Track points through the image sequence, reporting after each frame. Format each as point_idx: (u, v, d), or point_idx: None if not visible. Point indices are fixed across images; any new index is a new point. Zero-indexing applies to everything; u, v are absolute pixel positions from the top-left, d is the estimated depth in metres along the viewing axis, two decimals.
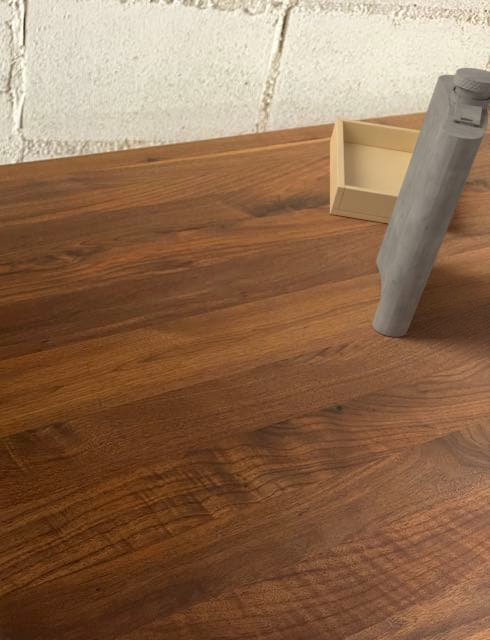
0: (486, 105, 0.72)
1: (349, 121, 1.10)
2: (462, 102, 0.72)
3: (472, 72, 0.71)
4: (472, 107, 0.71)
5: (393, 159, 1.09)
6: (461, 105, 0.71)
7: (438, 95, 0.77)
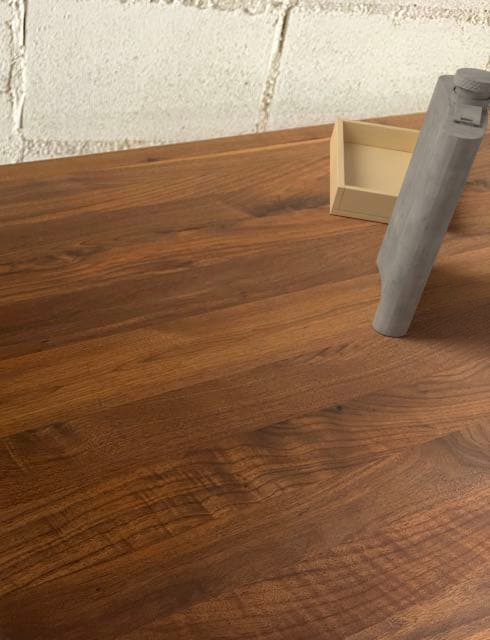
0: (486, 105, 0.72)
1: (349, 121, 1.10)
2: (462, 102, 0.72)
3: (472, 72, 0.71)
4: (472, 107, 0.71)
5: (393, 159, 1.09)
6: (461, 105, 0.71)
7: (438, 95, 0.77)
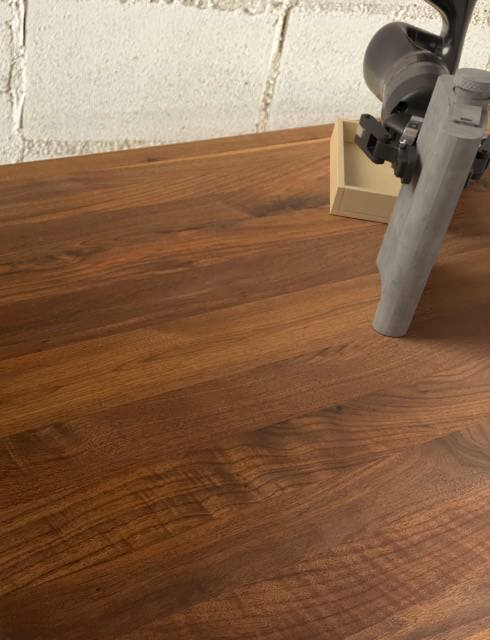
0: (486, 105, 0.72)
1: (349, 121, 1.10)
2: (462, 102, 0.72)
3: (472, 72, 0.71)
4: (472, 107, 0.71)
5: None
6: (461, 105, 0.71)
7: (437, 95, 0.77)
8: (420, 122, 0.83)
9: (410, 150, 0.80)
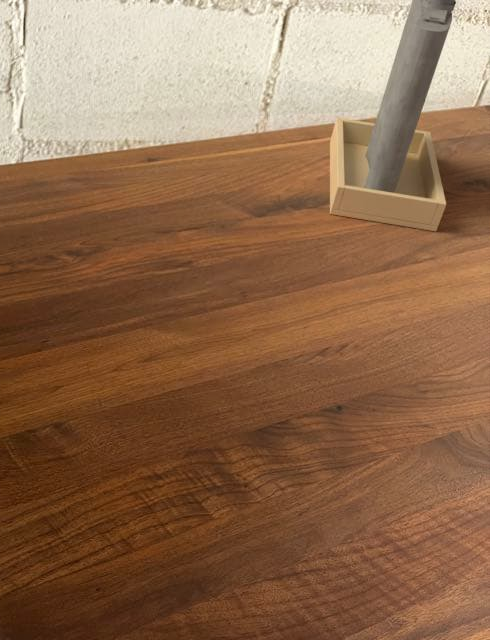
0: (451, 9, 0.91)
1: (349, 121, 1.10)
2: (432, 7, 0.90)
3: None
4: (439, 10, 0.90)
5: None
6: (431, 9, 0.90)
7: (414, 7, 0.96)
8: None
9: None
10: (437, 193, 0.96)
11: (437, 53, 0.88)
